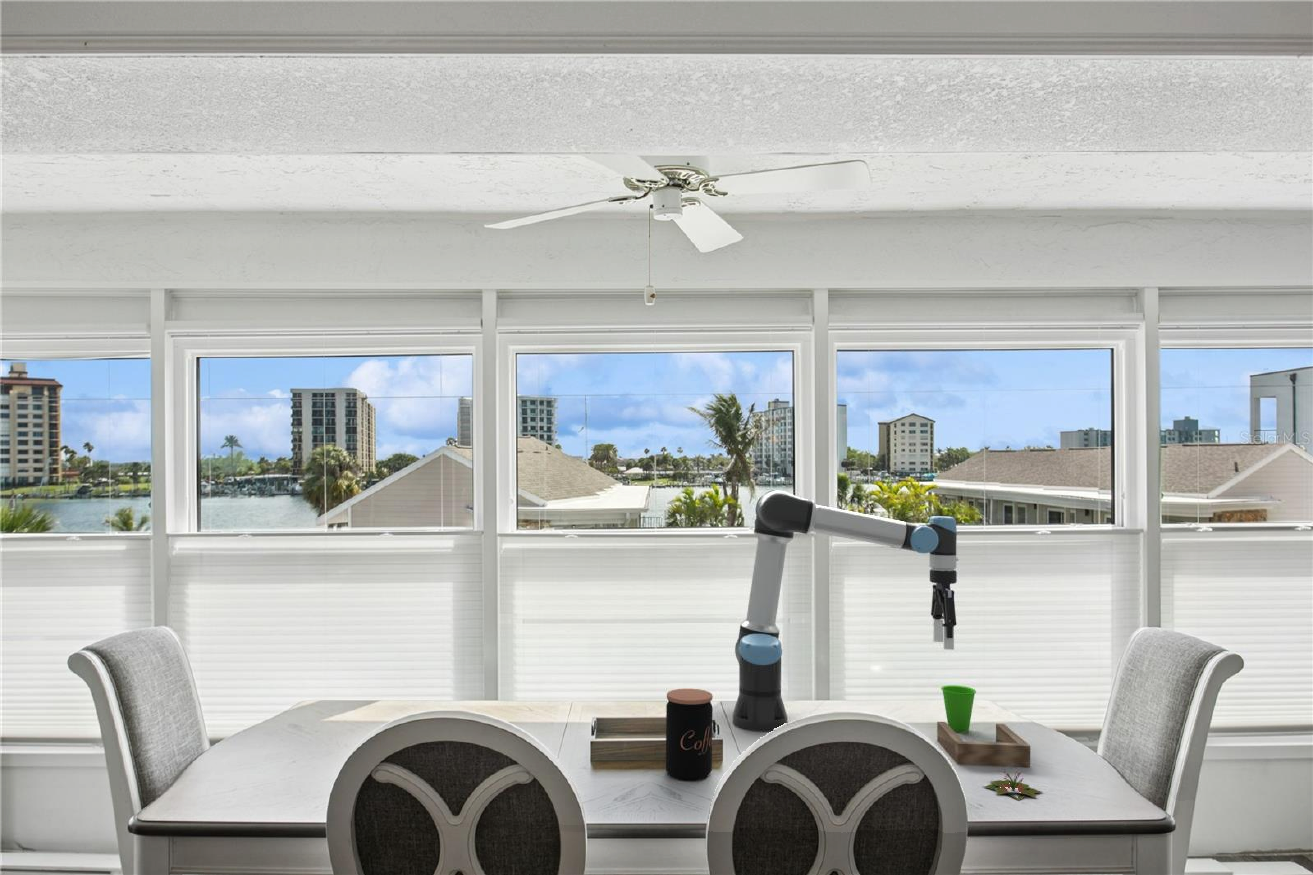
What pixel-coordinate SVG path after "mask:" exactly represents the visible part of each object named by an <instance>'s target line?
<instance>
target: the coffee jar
mask: <svg viewBox="0 0 1313 875" xmlns="http://www.w3.org/2000/svg"><path fill="white" fill-rule="evenodd" d="M666 699H667V700H668V702H667V703H666V705H665V706H666V707H665V711H666V712H665V713H666V714H665V717H666V719H665V770H666V772H667V774H668V776H669V777H670V778H673V779H674V780H679V781H685V782H696V781H701V780H702V781H703V780H704V779H707V778H708V777H709V776H710V774H711V773H712V770H713V705H712V704H713V703H712V702H711V701H712V700H713V693H711V692H710V691H707V690H704V689H699V688H678V689H672V690H669V691H668V692H666Z"/></svg>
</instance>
